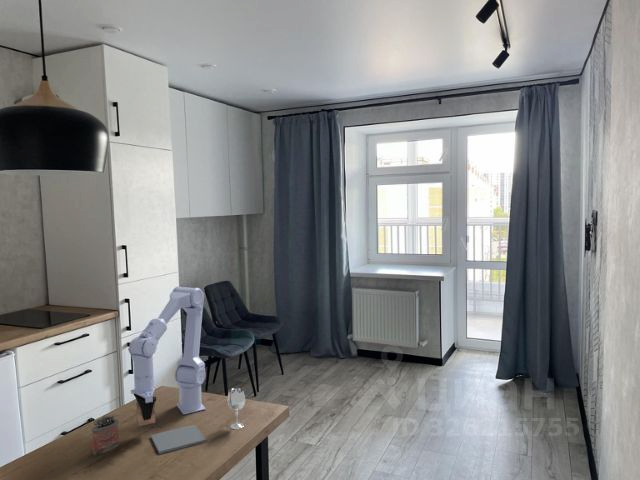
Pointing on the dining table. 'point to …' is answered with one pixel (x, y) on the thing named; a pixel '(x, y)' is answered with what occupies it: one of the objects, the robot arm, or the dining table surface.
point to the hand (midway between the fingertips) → (145, 416)
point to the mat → (177, 439)
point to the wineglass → (236, 404)
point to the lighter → (105, 434)
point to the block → (140, 418)
